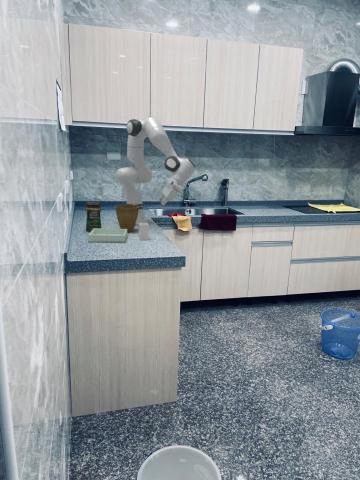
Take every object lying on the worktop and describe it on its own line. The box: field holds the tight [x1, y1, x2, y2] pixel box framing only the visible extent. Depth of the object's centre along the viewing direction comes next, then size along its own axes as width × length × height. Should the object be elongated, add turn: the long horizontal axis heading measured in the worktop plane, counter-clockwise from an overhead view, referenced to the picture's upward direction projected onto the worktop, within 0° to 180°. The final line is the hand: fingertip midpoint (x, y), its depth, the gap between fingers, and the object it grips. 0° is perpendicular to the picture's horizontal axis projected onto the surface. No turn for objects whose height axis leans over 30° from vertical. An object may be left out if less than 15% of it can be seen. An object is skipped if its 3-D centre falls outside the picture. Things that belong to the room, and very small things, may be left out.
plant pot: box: [114, 204, 139, 233], centre depth 226 cm, size 15×15×16 cm
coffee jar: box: [85, 201, 102, 232], centre depth 224 cm, size 10×8×19 cm
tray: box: [87, 228, 128, 244], centre depth 206 cm, size 18×20×4 cm
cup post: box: [138, 222, 150, 241], centre depth 208 cm, size 5×5×9 cm
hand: (160, 202), depth 211 cm, fingers open, 8 cm apart
